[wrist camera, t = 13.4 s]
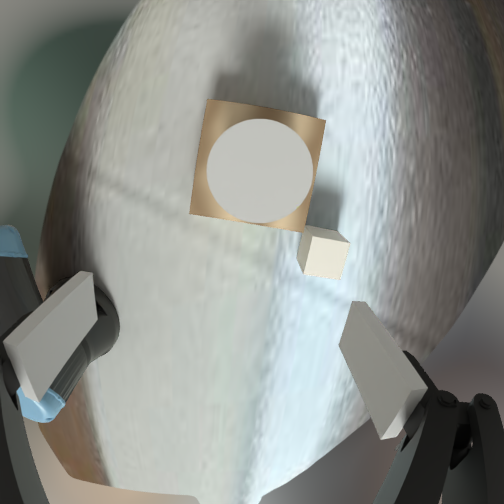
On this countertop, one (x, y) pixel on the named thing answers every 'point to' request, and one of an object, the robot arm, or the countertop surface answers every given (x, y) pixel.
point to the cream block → (322, 252)
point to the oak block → (230, 114)
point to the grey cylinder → (259, 171)
